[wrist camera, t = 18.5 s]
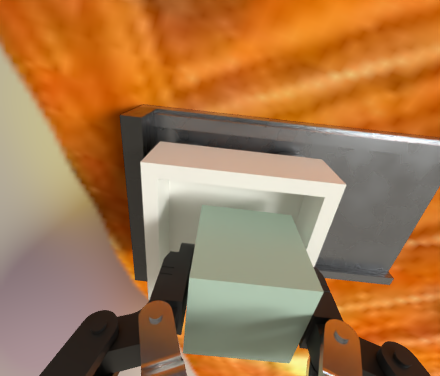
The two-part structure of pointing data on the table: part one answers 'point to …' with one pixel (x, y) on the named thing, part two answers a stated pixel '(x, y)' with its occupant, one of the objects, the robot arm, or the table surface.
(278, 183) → the white square tray
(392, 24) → the table surface
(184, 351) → the block
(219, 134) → the track
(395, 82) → the table surface
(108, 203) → the table surface
